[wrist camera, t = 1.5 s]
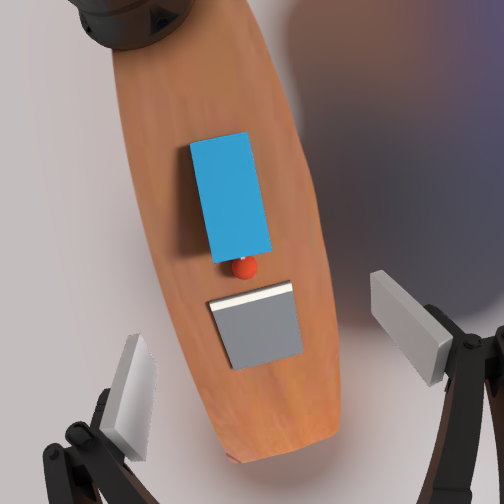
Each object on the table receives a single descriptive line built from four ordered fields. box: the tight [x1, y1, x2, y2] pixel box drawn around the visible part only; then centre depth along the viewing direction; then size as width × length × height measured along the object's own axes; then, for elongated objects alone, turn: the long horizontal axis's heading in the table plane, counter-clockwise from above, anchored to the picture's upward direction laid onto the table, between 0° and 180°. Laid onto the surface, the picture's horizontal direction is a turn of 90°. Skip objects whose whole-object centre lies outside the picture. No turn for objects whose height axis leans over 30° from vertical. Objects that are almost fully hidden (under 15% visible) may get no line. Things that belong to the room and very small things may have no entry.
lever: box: [190, 132, 272, 280], centre depth 38 cm, size 7×7×18 cm
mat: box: [209, 280, 304, 370], centre depth 46 cm, size 14×12×1 cm
